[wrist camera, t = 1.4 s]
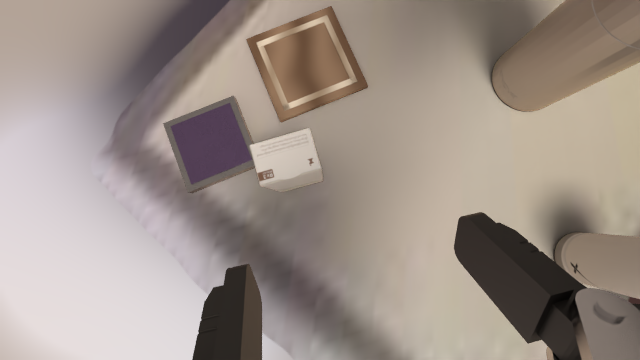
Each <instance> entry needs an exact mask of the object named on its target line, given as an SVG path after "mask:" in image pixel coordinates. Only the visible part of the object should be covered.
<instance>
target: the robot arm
mask: <svg viewBox="0 0 640 360" xmlns="http://www.w3.org/2000/svg"><path fill="white" fill-rule="evenodd" d="M639 62H640V0H565V1H564V2H563V3H562V4H561V5H559V6H558V7H557V8H556V9H555V10H554V11H553V12H551V13H550V14H549V15H548V16H547V17H546V18H545V19H543V20H542V21H541V22H540V23H539V24H538V25H537V26H535V27H534V28H533V29H532V30H531V31H530V32H529V33H527V34H526V35H525V36H524V37H523V38H522V39H520V40H519V41H518V42H517V43H516V44H515V45H514V46H512V47H511V48H510V49H509V50H508V51H507V52H506V53H504V54H503V55H502V56H501V57H500V58H499V59H498V60H497V62H496V64H495V66H494V69H493V72H492V82H493V86H494V89H495V91H496V93H497V95H498V96H499V98H500V99H501V100H502V101H503V102H504V103H506V104H507V105H509V106H510V107H512V108H514V109H517V110H521V111H536V110H540V109H542V108H544V107H547V106H549V105H551V104H553V103H555V102H557V101H559V100H561V99H563V98H566V97H568V96H570V95H572V94H574V93H576V92H578V91H581V90H583V89H585V88H587V87H589V86H591V85H593V84H595V83H597V82H599V81H602V80H604V79H606V78H608V77H610V76H612V75H614V74H616V73H618V72H620V71H623V70H625V69H627V68H629V67H631V66H633V65H635V64H637V63H639ZM454 250H455V254H456V256H457V258H458V260H459V262H460V263H461V264H462V265H463V266H464V268H465V269H466V270H467V271H468V272H469V274H470V275H471V276H472V277H473V278H474V280H475V281H476V282H477V283H478V284H479V286H480V287H481V288H482V289H483V290H484V292H485V293H486V294H487V295H488V296H489V298H490V299H491V300H492V301H493V302H494V304H495V305H496V306H497V307H498V308H499V309H500V311H501V312H502V313H503V314H504V315H505V317H506V318H507V319H508V320H509V321H510V323H511V324H512V325H513V326H514V327H515V329H516V330H517V331H518V332H519V333H520V335H521V336H522V337H523V338H524V339H525V341H526V342H527V343H532V342H535V341H539V340H543V341H544V342H545V343H546V345H547V346H548V347H547V350H546V355H547V360H640V304H631V303H629V302H628V301H627V300H625V299H623V298H621V297H620V296H618V295H615V294H613V293H610V292H608V291H604V290H601V289H594V288H586V287H585V286H584V285H582V284H581V283H580V282H579V281H577V280H576V279H575V278H574V277H572V276H571V275H570V274H569V273H568V272H566V271H565V270H564V269H563V268H561V267H560V266H559V265H558V264H556V263H555V262H554V261H553V260H551V259H550V258H549V257H548V256H546V255H545V254H544V253H543V252H542V251H541V252H540V251H539V250H538V248H537V247H535V246H534V245H533V244H532V243H529V242H528V240H527V239H525V238H524V237H523V236H522V235H520V234H519V233H518V232H517V231H515V230H514V229H512V228H509V227H507V226H505V225H503V224H501V223H495V222H494V221H493V220H492V219H491V218H489V217H488V216H487V215H486V214H484V213H482V212H479V213H475V214H471V215H466V216H462V217H460V218H459V221H458V226H457V232H456V238H455V244H454ZM201 319H202V321H201V322H200V326H199V334H198V336H197V340H196V345H195V350H194V354H193V360H262V302H261V296H260V291H259V289H258V286H257V283H256V280H255V278H254V275H253V272H252V269H251V267H250V265H249V264H246V265H241V266H237V267H232V268H228V269H227V270H226V274H225V281H224V285H223V286H219V287H214V288H213V289H212V291H211V293H210V294H209V296H208V298H207V299H206V301H205V303H204V307H203V312H202V317H201Z"/></svg>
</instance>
